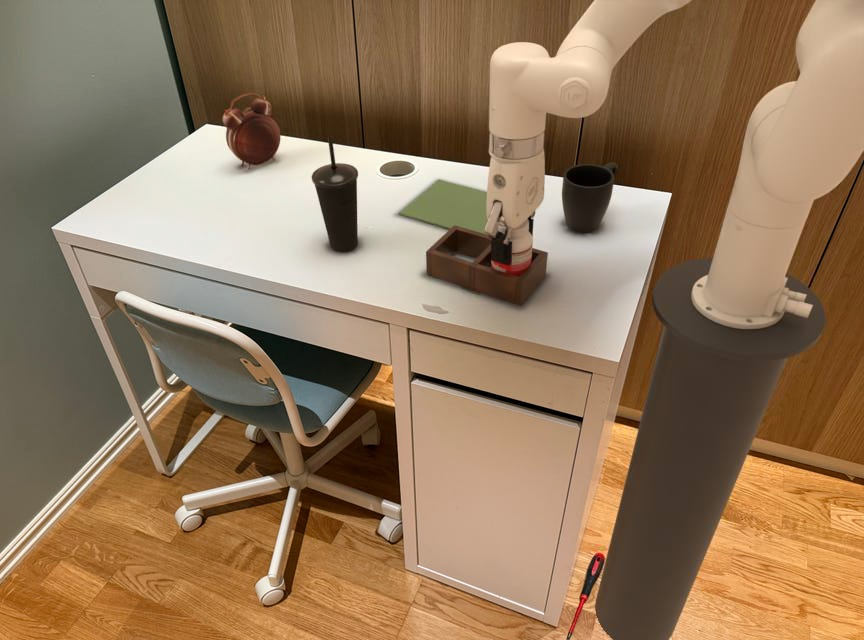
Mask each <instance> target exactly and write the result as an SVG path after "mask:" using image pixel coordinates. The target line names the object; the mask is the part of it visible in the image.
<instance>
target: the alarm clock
mask: <svg viewBox="0 0 864 640" xmlns="http://www.w3.org/2000/svg"><path fill="white" fill-rule="evenodd" d="M252 95H253V96H256V97H257V98H255V99H253V100H252V102H251V103H250V105H249V106H245V107H244V108H243V109H242V110H240V109H238V108H236V107H234V103H235V102H237V101H238V100H239V99H242V98H244V97H247V96H252ZM230 102H231V103H230V106H229V108H228V109H224V111H223V112H224V113H223V115H222V123H223V125H224V127H225V128H226V131H225V139H226V144H227V146H228V148H229V150H230V152H232V154H233V155H234V156H235V158H237V159H238V160H240V161H241V164H240V166H241V167H245V166H244V165H245V164H247V165H248V167H247V170H251V166H259V165H263V164H265V163H267V162H269V161H270V160H271V159H272V161H276V158H275V157H274V156H276V153H277V152H278V150H279V148H280V144H281V131H280V128H279V125H278V124H277V121H275V120H274V119H273V118H272V117H271V115H272V112H273V107H272V105H271V103H270V102H269V100H267V99H266V95H262V97H261V95H260V94H259V93H257V92H254V91H253V92H245V93H243V94H239V95H238V96H237V97H235V98H234V99H232V100H231V101H230Z"/></svg>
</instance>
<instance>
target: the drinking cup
mask: <svg viewBox="0 0 864 640" xmlns="http://www.w3.org/2000/svg"><path fill="white" fill-rule="evenodd" d="M327 140H328V141H327V142H328V150H329V156H330V157H329V158H330V163H329V164H325V165H323V166H320V167H318V168H316V169H315V170H314V171H313V172H312V174H311V181H312V183H313V184H314V187H315V190H316V191H315V192H316V196H317V199H318V203H319V206H320V211H321V215H322V219H323V223H324V226H325V230H326V234H327V238H328V242H329V245H330V249H331V250H332V251H334V252H337V253H348V252H351V251H353V250H355V249H356V248H357V246H358V244H359V240H358V239H359V237H358V233H359V231H358V230H359V229H358V227H359V226H358V178H359V171H358V169H357V168H356V167H355V166H354V165H351V164H348V163H342V162H340V163H339V162H338V163H337V162H336V158H335V149H334V142H333V136H328V137H327Z"/></svg>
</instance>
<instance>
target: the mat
mask: <svg viewBox="0 0 864 640" xmlns="http://www.w3.org/2000/svg"><path fill="white" fill-rule="evenodd" d="M486 204H487V191H484V190H480V189H476V188H472V187H469V186H464V185H461V184H457V183H453V182H449V181H445V180H442V179H437V180H436V181H435V182H434V183H433V184H432V185H430V187H428V188H427V189H426V190H425V191H423V192H422V193H421V194H420V195H419V196H418V197H416V198H415V199H414V200H412V201H411V202H410V203H409V204H408V205H406V206H405V207H404V208H403V209H402V210H400V212H398V214H399V215H400V216H403V217H406V218H410V219H413V220H416V221H420V222H424V223H427V224H430V225H433V226H435V227H436V226H437V227H440V228H443V229H447V230H450V229H451V228H452V227H453V226H454V225H456V226H459V227H463V228H466V229H470V230H473V231H476V232H480V233H483V234H485V233H484V231H485V228H486V225H487V222H488V219H487V210H486Z"/></svg>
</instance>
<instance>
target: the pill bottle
mask: <svg viewBox="0 0 864 640" xmlns="http://www.w3.org/2000/svg"><path fill="white" fill-rule="evenodd" d="M500 220H504V217H501V219H500ZM504 221H505V220H504ZM498 230H499V232H502V233H503V234H504V235H505V230H506V227H505V226H501V225H499V227H498ZM528 230H529V220H528V219H526V220H525V221H524V222H523V223H522V224H521V225H520V226H519V227H517V228H515V229H513V228H512V233H511V237H510V241H511V242H512V262H511V264H510V265H505V264H501V263H498V262H495V261H491V268H492V269H495V270H498V271H501V272H505V273H508V274H511V275H514V276H517V277H519V276H520V275H521V274H522V273H523V272H524V271H525V270H526V269H527V267H528V266H529V265H530V264H531V261H532V248H534V247H533V245H534V237H533V238H532V235H531V233H530V232H529V231H528Z"/></svg>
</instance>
